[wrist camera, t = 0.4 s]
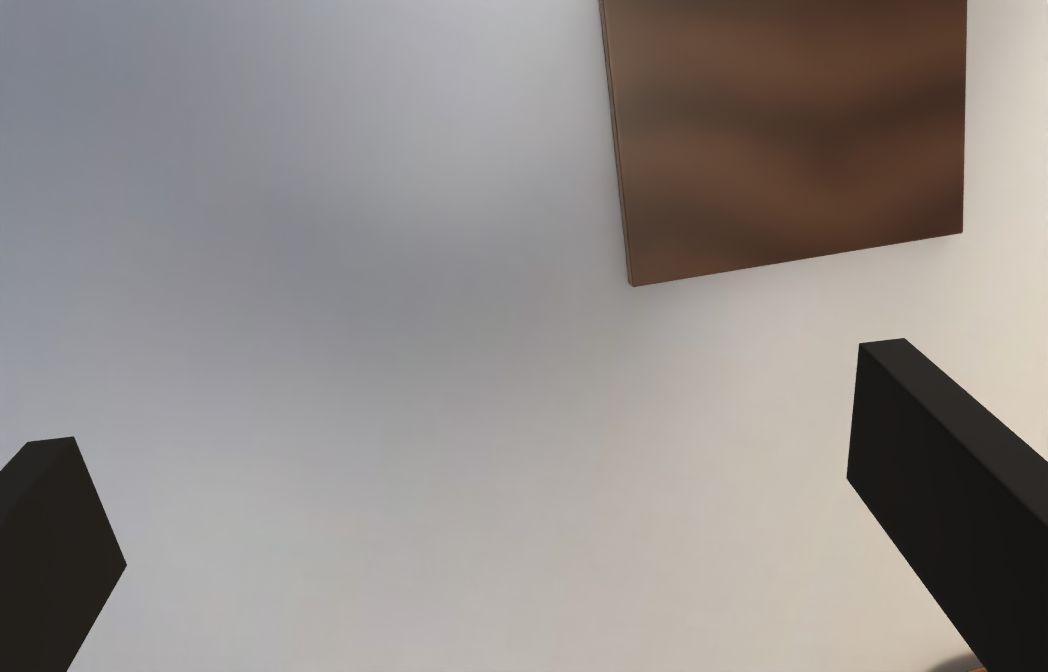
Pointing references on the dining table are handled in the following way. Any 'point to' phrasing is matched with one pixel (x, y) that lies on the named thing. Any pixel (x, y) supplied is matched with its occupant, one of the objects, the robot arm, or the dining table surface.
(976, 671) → the cup and saucer
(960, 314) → the dining table surface
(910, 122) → the walnut board
